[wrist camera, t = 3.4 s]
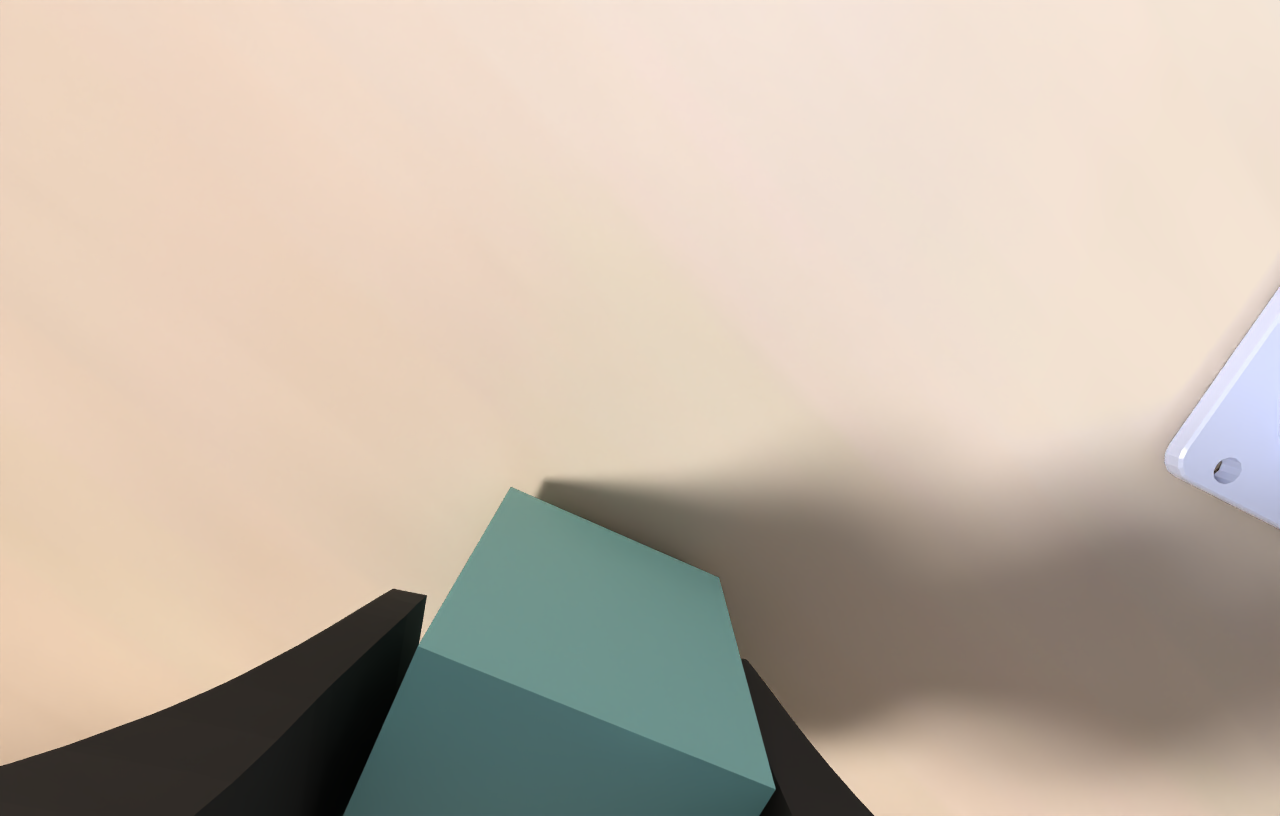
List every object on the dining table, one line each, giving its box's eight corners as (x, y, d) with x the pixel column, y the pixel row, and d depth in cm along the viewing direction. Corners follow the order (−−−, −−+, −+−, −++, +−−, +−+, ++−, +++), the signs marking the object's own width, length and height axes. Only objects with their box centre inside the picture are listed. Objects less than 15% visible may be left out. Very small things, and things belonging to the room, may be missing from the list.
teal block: (718, 577, 12) (775, 788, 7) (623, 749, 13) (616, 1043, 8) (510, 486, 11) (419, 646, 7) (427, 671, 12) (292, 932, 8)
